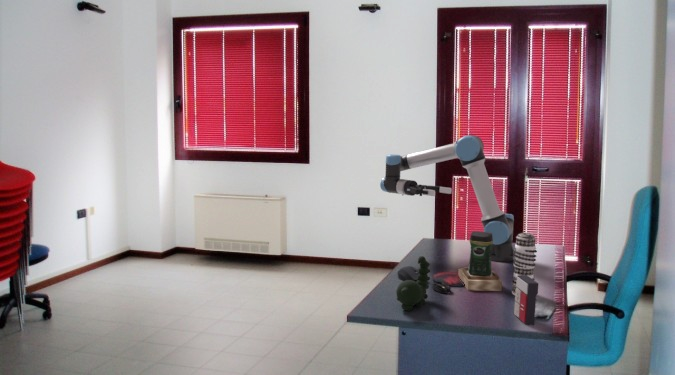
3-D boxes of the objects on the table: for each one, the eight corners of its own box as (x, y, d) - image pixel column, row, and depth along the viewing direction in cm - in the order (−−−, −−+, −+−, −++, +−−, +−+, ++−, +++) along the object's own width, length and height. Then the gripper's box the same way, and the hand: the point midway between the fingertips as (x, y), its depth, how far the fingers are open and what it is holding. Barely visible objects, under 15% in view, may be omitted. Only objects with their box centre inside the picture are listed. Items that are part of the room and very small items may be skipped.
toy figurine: (411, 300, 254) (388, 312, 232) (414, 253, 254) (391, 260, 231) (434, 304, 250) (413, 316, 228) (437, 256, 250) (416, 263, 227)
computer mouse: (407, 274, 288) (407, 262, 288) (458, 292, 262) (459, 279, 261) (391, 277, 283) (391, 265, 282) (441, 295, 257) (442, 282, 256)
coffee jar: (492, 273, 276) (495, 231, 273) (488, 277, 268) (491, 234, 266) (470, 270, 280) (472, 229, 277) (466, 274, 272) (468, 232, 270)
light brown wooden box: (489, 277, 284) (490, 266, 284) (501, 290, 264) (502, 278, 264) (458, 277, 284) (458, 265, 283) (467, 290, 264) (468, 278, 264)
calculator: (512, 314, 234) (515, 274, 232) (524, 314, 234) (526, 274, 232) (524, 325, 223) (526, 283, 221) (536, 324, 224) (538, 283, 222)
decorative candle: (535, 292, 263) (539, 233, 260) (532, 298, 255) (536, 237, 251) (512, 289, 267) (516, 230, 263) (509, 295, 258) (512, 234, 255)
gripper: (422, 192, 327) (457, 197, 312) (391, 197, 309) (426, 202, 295) (422, 178, 326) (458, 182, 312) (391, 181, 308) (427, 186, 294)
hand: (443, 192), depth 303 cm, fingers open, 13 cm apart
